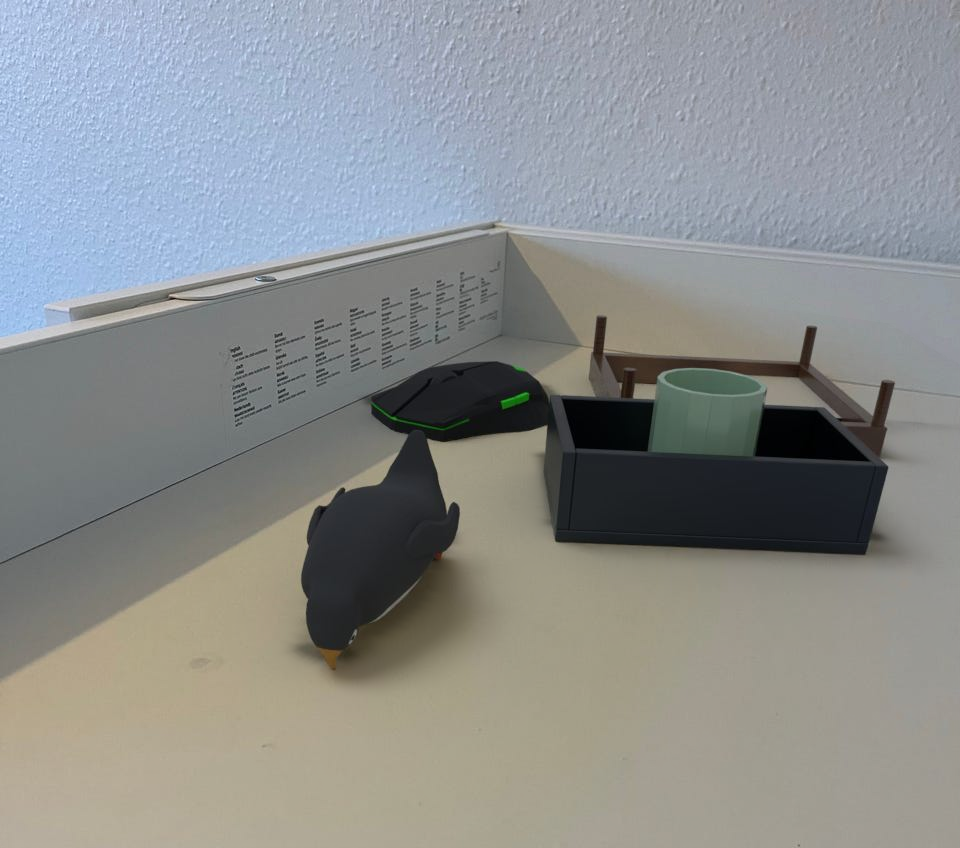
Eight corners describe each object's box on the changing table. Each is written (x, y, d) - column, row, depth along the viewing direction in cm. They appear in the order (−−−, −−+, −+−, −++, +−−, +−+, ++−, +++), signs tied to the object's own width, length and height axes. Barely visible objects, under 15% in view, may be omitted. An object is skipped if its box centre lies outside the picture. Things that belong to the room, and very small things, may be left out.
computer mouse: (587, 415, 86) (592, 369, 84) (445, 450, 76) (447, 399, 74) (496, 386, 93) (498, 342, 91) (355, 415, 83) (354, 367, 81)
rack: (803, 387, 98) (816, 325, 95) (880, 458, 79) (899, 383, 76) (588, 377, 97) (594, 314, 94) (614, 446, 79) (623, 370, 76)
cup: (731, 484, 70) (752, 370, 66) (755, 520, 64) (779, 398, 60) (636, 479, 70) (651, 365, 66) (650, 516, 64) (668, 393, 60)
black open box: (807, 484, 73) (824, 407, 70) (866, 555, 62) (889, 466, 59) (543, 472, 72) (549, 394, 70) (554, 541, 61) (563, 451, 59)
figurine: (354, 585, 60) (249, 665, 46) (362, 420, 57) (252, 451, 43) (472, 603, 59) (400, 690, 45) (487, 435, 56) (414, 472, 42)
